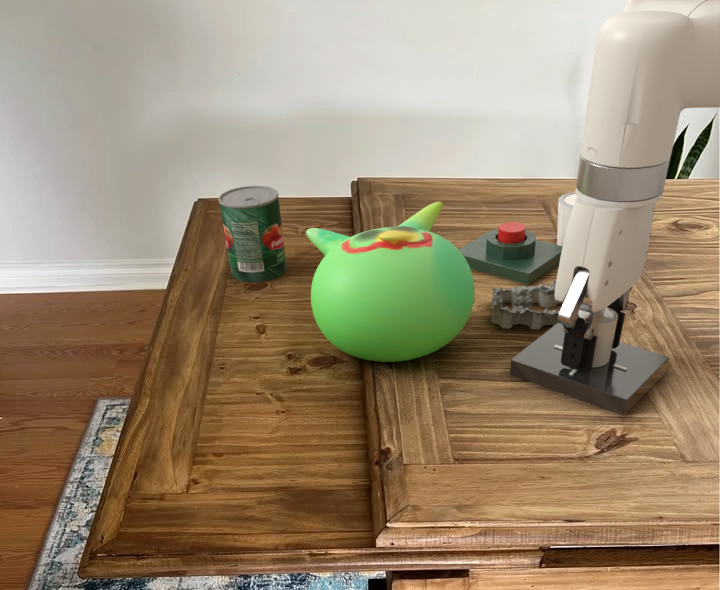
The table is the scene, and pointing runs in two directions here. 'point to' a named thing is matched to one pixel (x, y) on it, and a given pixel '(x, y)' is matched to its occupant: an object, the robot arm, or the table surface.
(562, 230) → the white cup
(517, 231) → the button
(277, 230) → the canned tomato
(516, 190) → the table surface
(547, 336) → the dial base plate
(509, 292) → the egg carton
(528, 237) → the button housing
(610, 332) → the knob
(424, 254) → the toy bird
